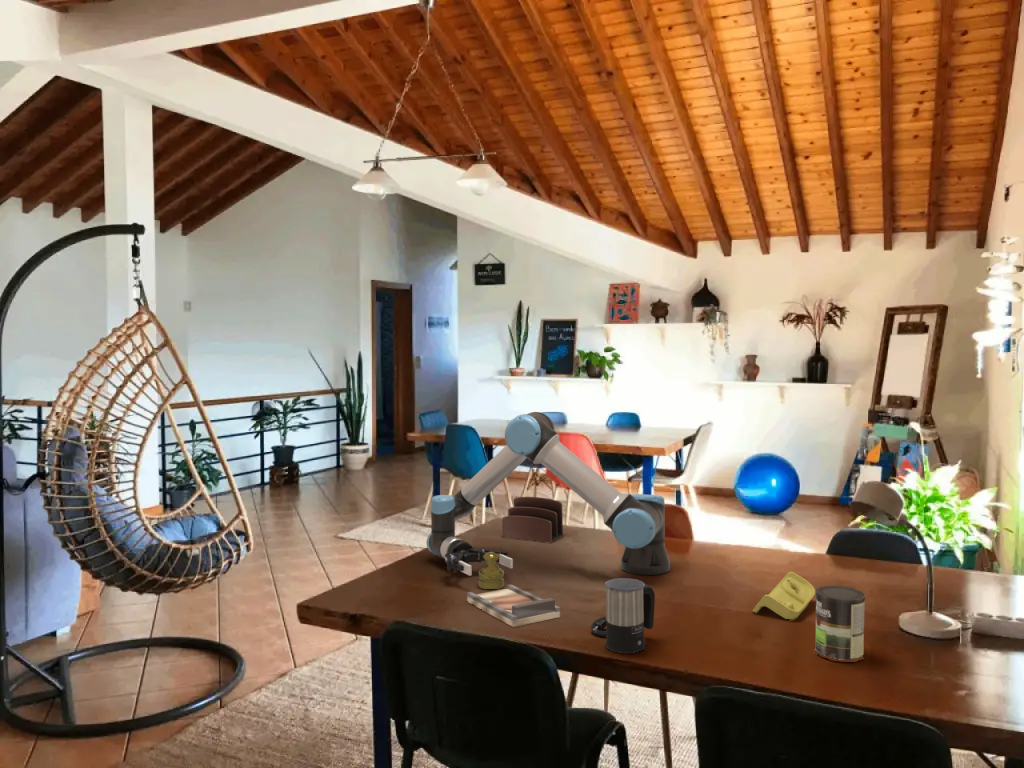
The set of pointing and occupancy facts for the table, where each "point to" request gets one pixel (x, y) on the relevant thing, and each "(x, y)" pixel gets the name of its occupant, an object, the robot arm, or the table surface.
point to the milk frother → (626, 615)
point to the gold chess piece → (491, 573)
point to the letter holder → (534, 520)
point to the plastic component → (788, 597)
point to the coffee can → (840, 622)
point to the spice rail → (510, 593)
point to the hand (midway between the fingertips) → (491, 567)
